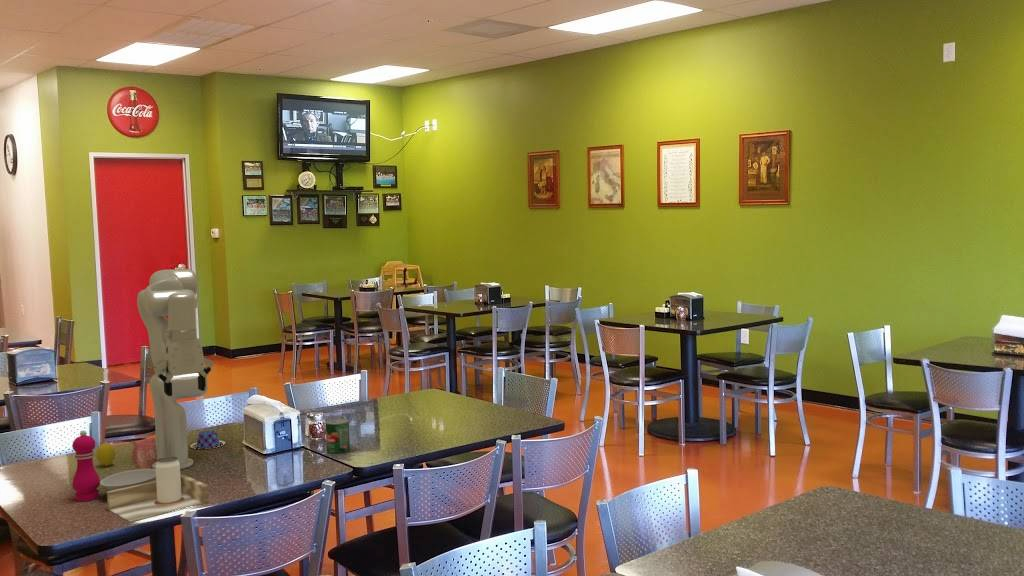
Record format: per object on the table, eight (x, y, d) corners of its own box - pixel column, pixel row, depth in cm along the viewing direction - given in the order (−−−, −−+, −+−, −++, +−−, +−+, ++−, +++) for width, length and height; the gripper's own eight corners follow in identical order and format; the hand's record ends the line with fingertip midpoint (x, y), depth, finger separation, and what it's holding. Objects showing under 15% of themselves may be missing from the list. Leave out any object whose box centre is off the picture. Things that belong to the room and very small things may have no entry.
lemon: (93, 467, 284) (92, 443, 283) (107, 463, 289) (105, 439, 288) (106, 469, 281) (104, 445, 281) (119, 464, 287) (118, 441, 286)
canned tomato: (353, 450, 299) (352, 418, 299) (344, 456, 292) (343, 424, 291) (332, 449, 301) (331, 418, 300) (322, 455, 294) (321, 423, 293)
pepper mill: (82, 503, 247) (78, 434, 245) (68, 499, 251) (64, 431, 249) (105, 496, 253) (102, 429, 251) (91, 492, 257) (87, 426, 255)
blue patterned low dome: (210, 452, 302) (210, 437, 302) (182, 449, 306) (182, 435, 305) (232, 443, 313) (231, 429, 313) (205, 441, 317) (204, 427, 317)
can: (186, 497, 249) (184, 456, 248) (172, 504, 243) (170, 462, 242) (166, 496, 250) (164, 455, 249) (152, 503, 244) (150, 461, 243)
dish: (137, 482, 266) (136, 466, 266) (172, 487, 260) (171, 471, 260) (88, 499, 250) (87, 482, 250) (124, 505, 244) (123, 488, 244)
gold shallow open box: (107, 509, 241) (106, 491, 241) (184, 490, 257) (183, 474, 256) (129, 522, 230) (128, 504, 229) (208, 502, 245) (208, 485, 245)
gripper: (158, 340, 243) (160, 399, 245) (217, 333, 255) (219, 390, 257) (147, 337, 248) (150, 395, 250) (206, 330, 260) (208, 386, 262)
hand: (185, 392), depth 253 cm, fingers open, 9 cm apart
